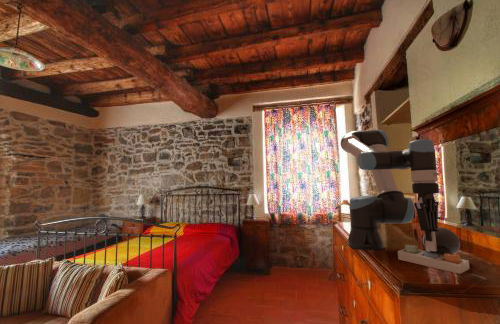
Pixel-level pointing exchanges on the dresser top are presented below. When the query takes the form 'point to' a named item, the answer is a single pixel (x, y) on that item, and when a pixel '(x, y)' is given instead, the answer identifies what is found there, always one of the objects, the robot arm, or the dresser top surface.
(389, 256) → the dresser top surface
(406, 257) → the button panel
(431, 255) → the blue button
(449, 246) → the dark glossy ovoid
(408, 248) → the green button
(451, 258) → the orange button
